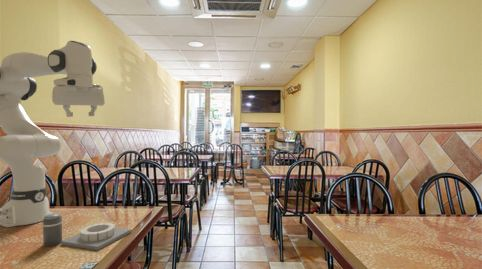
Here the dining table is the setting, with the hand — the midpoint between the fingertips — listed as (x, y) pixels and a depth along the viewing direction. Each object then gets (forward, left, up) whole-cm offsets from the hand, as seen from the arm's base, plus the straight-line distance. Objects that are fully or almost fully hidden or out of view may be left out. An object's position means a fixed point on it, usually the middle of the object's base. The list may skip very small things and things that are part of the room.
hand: (81, 116), depth 106 cm
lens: (+4, -15, -46) cm, 49 cm away
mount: (+16, -7, -46) cm, 49 cm away
